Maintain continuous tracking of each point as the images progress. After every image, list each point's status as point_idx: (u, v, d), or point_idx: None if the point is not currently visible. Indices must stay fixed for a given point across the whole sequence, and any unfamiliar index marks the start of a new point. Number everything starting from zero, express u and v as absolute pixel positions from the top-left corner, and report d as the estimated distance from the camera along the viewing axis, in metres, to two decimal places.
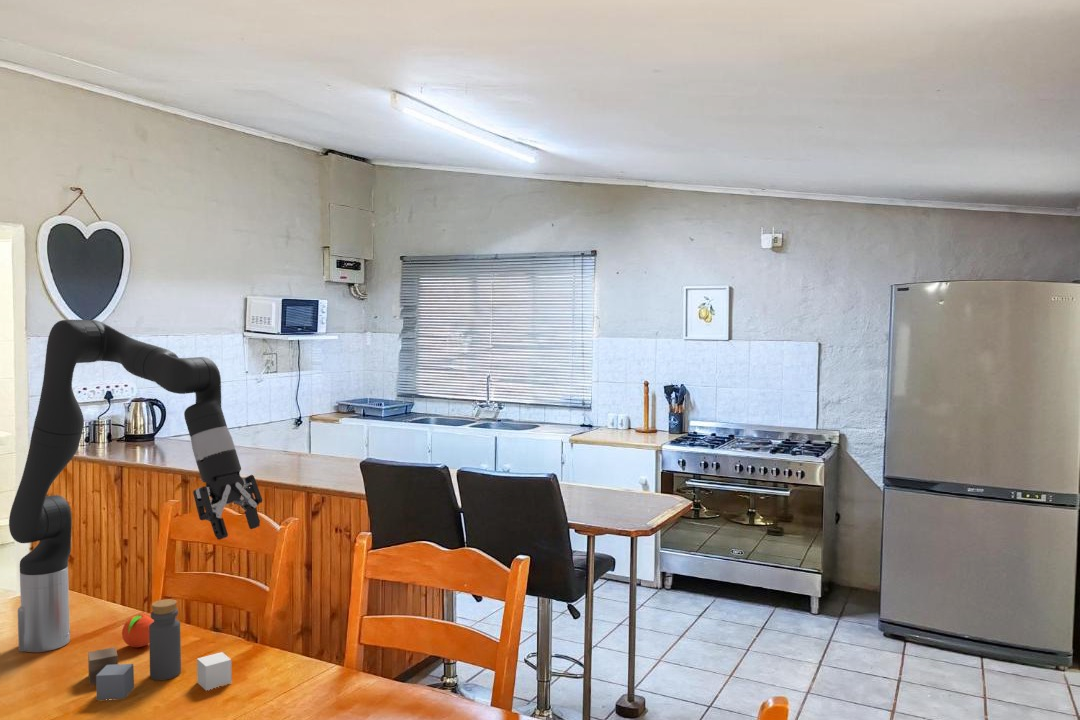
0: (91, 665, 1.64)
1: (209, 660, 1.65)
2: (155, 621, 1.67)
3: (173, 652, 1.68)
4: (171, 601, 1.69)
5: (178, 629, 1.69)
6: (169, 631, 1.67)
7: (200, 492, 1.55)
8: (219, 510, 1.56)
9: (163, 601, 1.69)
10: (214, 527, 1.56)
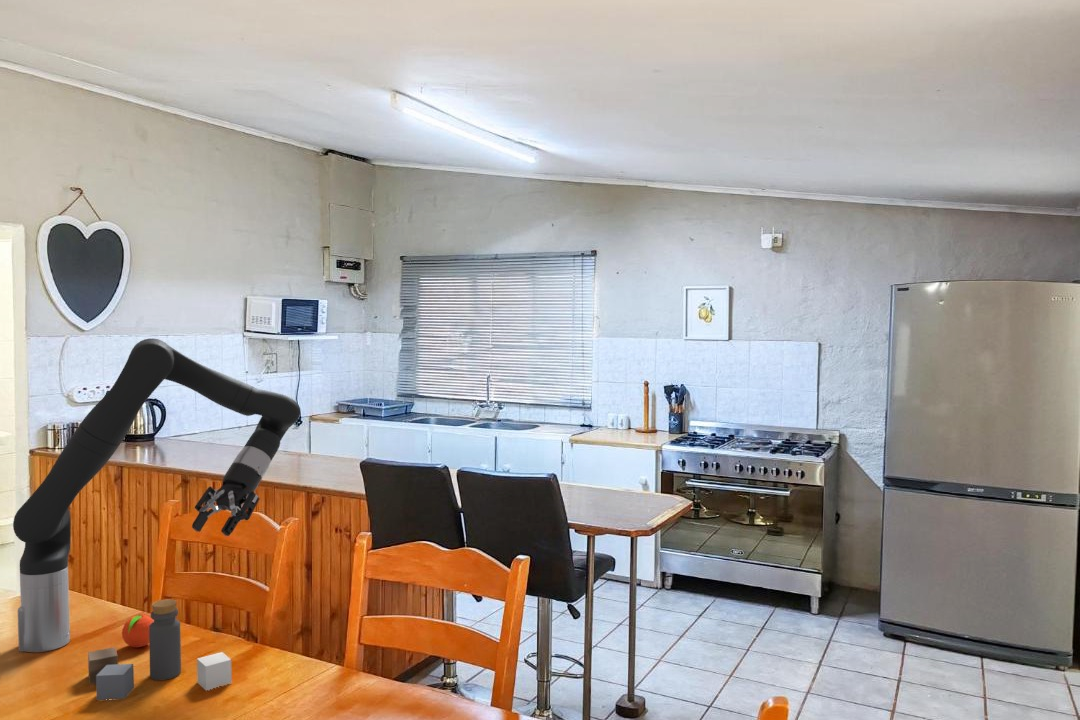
0: (91, 665, 1.64)
1: (209, 660, 1.65)
2: (155, 621, 1.67)
3: (173, 652, 1.68)
4: (171, 601, 1.69)
5: (178, 629, 1.69)
6: (169, 631, 1.67)
7: (257, 499, 1.83)
8: None
9: (163, 601, 1.69)
10: (233, 524, 1.79)
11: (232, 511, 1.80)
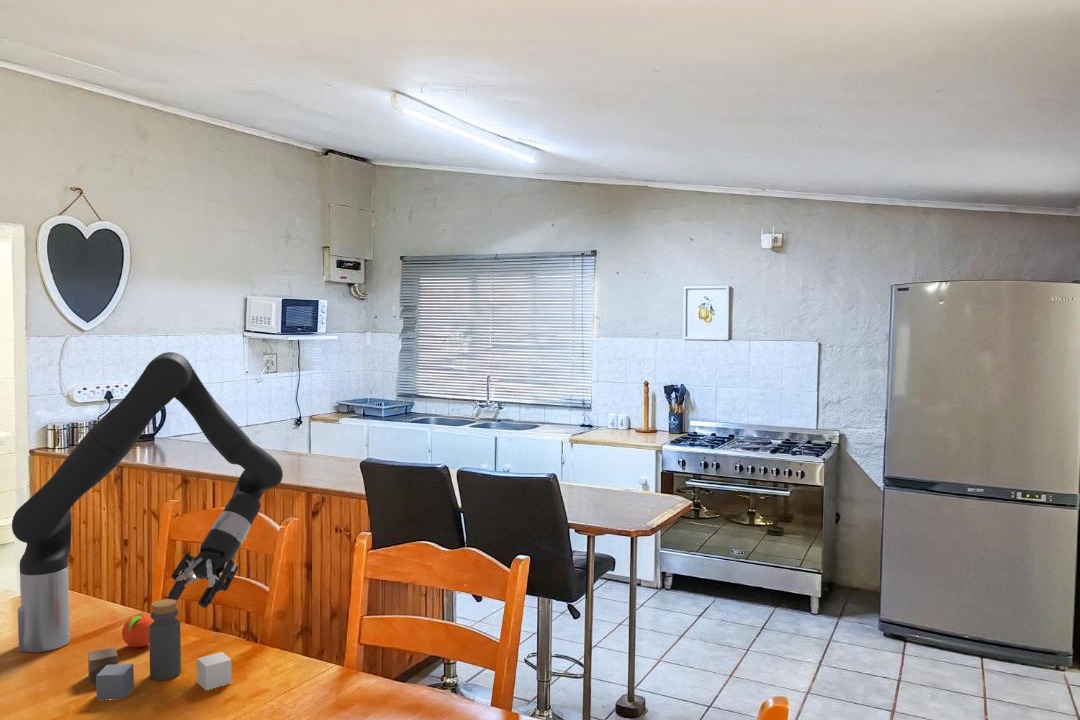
0: (91, 665, 1.64)
1: (209, 660, 1.65)
2: (155, 621, 1.67)
3: (173, 652, 1.68)
4: (171, 601, 1.69)
5: (178, 629, 1.69)
6: (169, 631, 1.67)
7: (235, 568, 1.78)
8: None
9: (163, 601, 1.69)
10: (211, 595, 1.73)
11: (210, 581, 1.75)
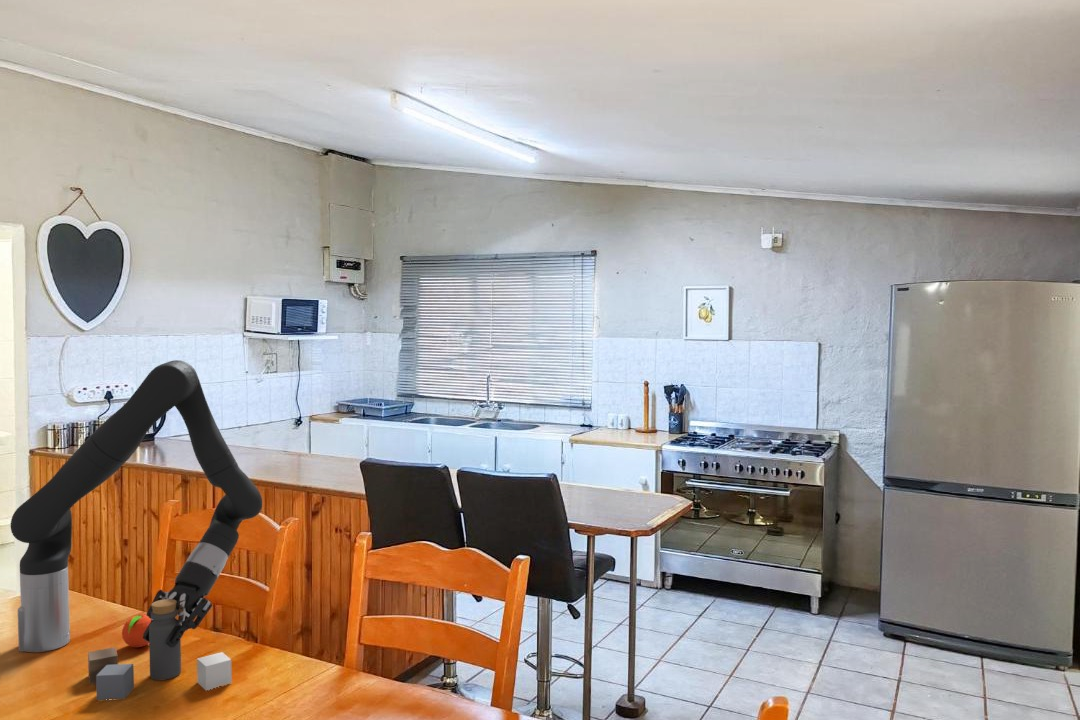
0: (91, 665, 1.64)
1: (209, 660, 1.65)
2: (155, 621, 1.67)
3: (173, 652, 1.68)
4: (171, 601, 1.69)
5: None
6: (169, 631, 1.67)
7: (208, 607, 1.71)
8: None
9: (163, 601, 1.69)
10: (179, 634, 1.67)
11: (179, 619, 1.68)
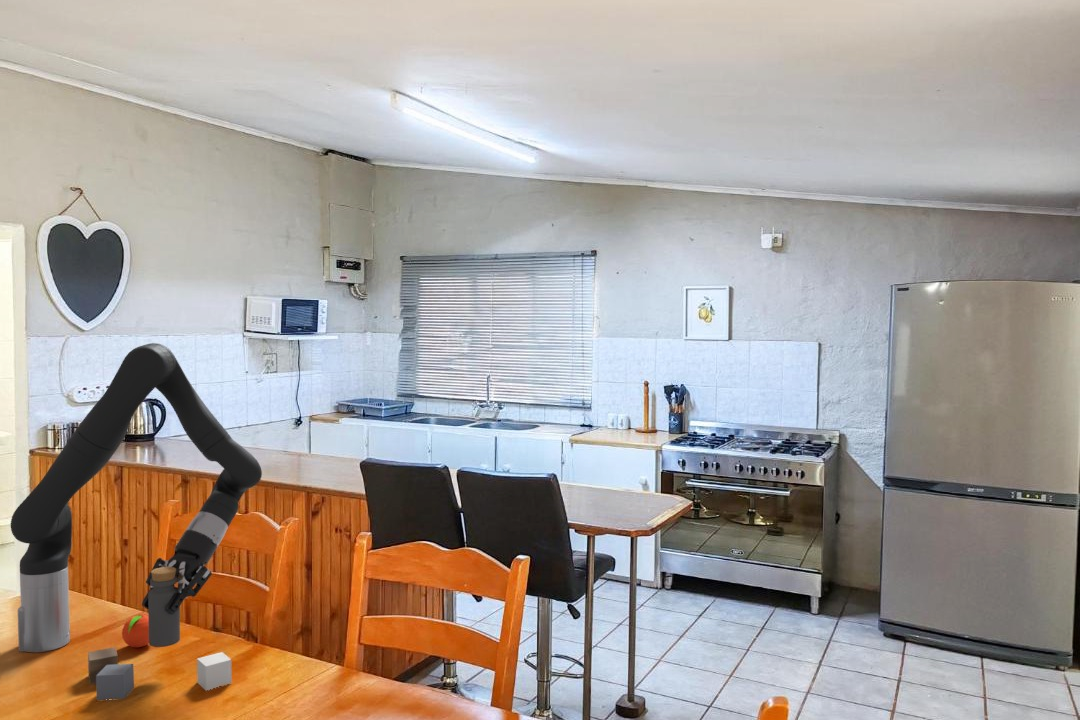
0: (91, 665, 1.64)
1: (209, 660, 1.65)
2: (154, 588, 1.67)
3: (172, 620, 1.67)
4: (170, 569, 1.69)
5: None
6: (168, 598, 1.67)
7: (208, 575, 1.71)
8: None
9: (162, 568, 1.69)
10: (178, 601, 1.67)
11: (178, 586, 1.68)
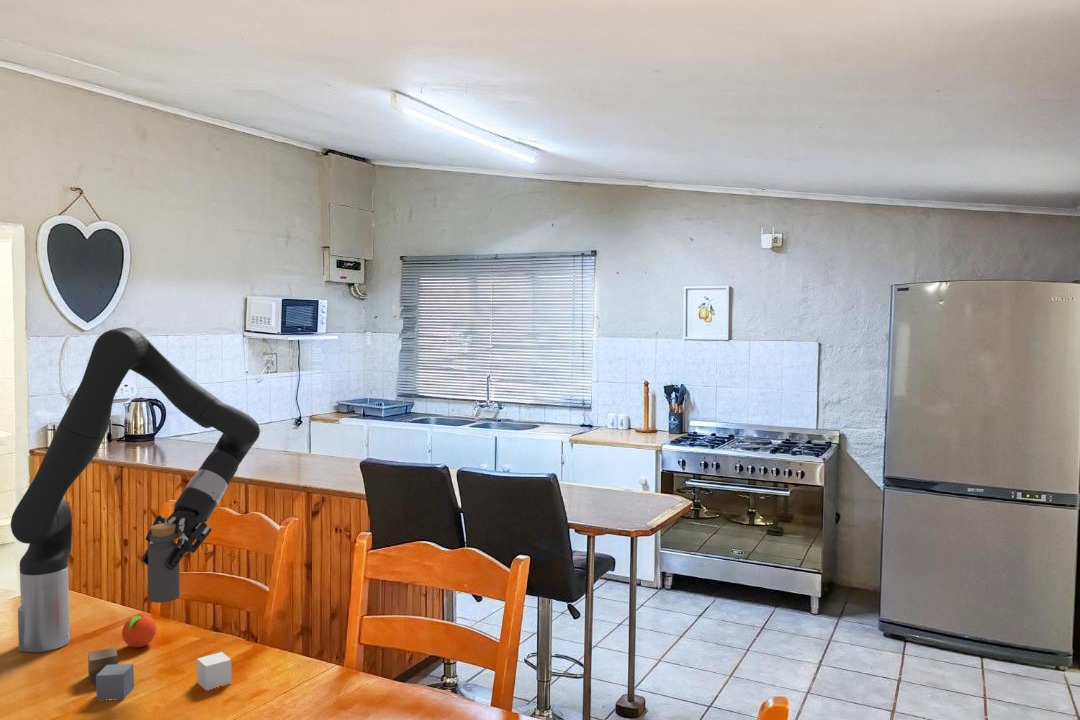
0: (91, 665, 1.64)
1: (209, 660, 1.65)
2: (154, 544, 1.67)
3: (172, 575, 1.67)
4: (170, 524, 1.69)
5: None
6: (168, 553, 1.66)
7: (208, 531, 1.70)
8: None
9: (162, 524, 1.69)
10: (178, 556, 1.66)
11: (178, 542, 1.68)
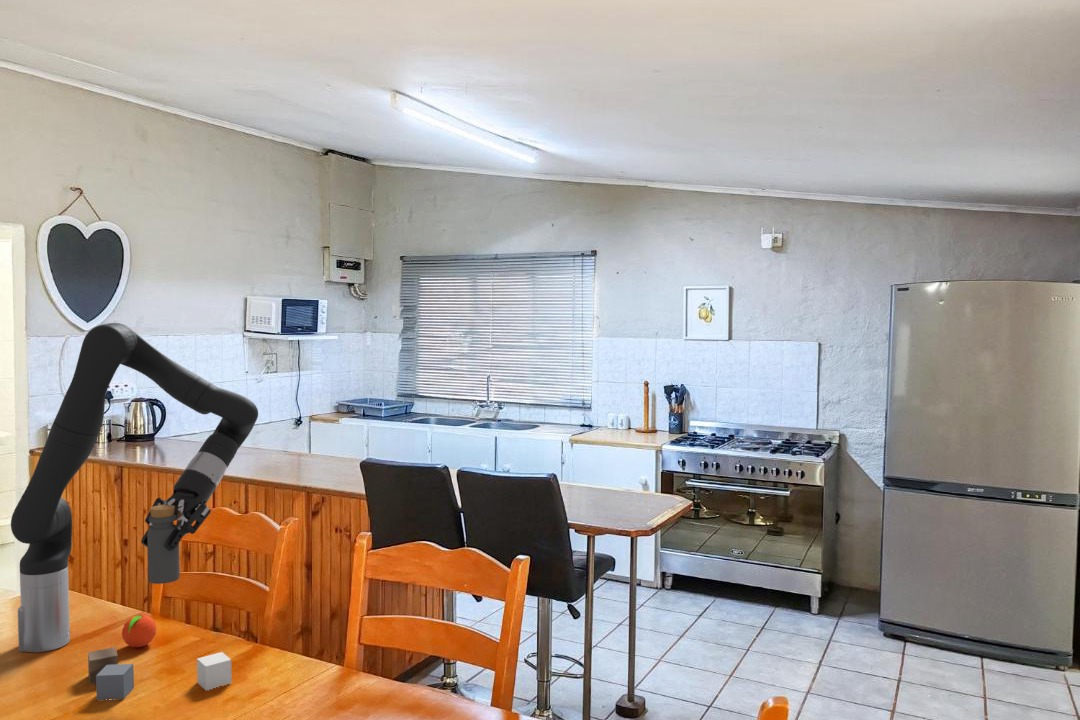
0: (91, 665, 1.64)
1: (209, 660, 1.65)
2: (153, 525, 1.66)
3: (171, 556, 1.67)
4: (169, 506, 1.69)
5: None
6: (168, 535, 1.66)
7: (207, 512, 1.70)
8: None
9: (161, 506, 1.68)
10: (177, 538, 1.66)
11: (177, 523, 1.68)
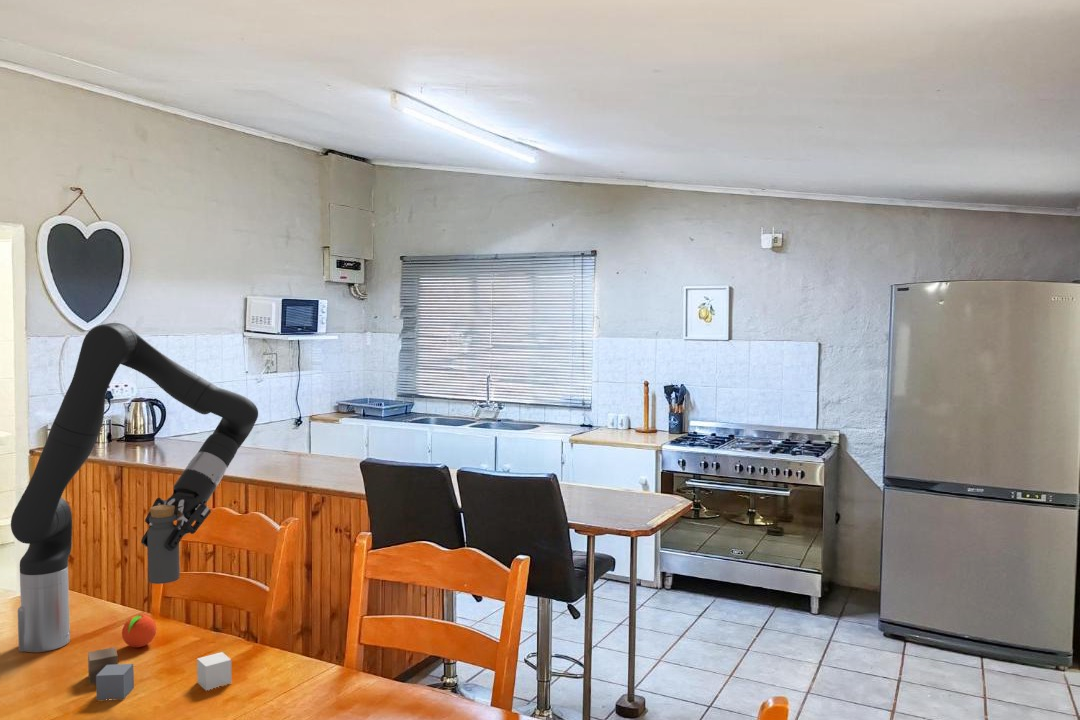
0: (91, 665, 1.64)
1: (209, 660, 1.65)
2: (153, 525, 1.66)
3: (171, 556, 1.67)
4: (169, 506, 1.69)
5: None
6: (168, 535, 1.66)
7: (207, 512, 1.70)
8: None
9: (161, 506, 1.68)
10: (177, 538, 1.66)
11: (177, 523, 1.68)
